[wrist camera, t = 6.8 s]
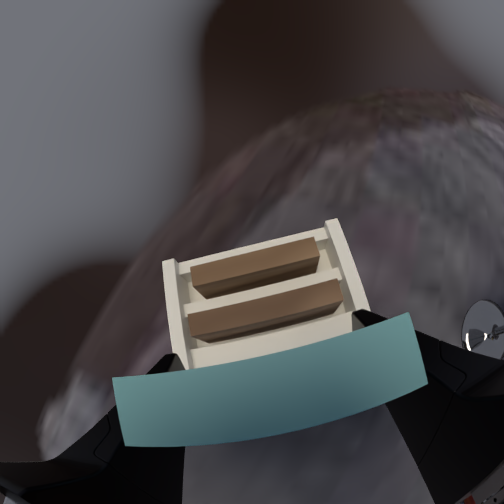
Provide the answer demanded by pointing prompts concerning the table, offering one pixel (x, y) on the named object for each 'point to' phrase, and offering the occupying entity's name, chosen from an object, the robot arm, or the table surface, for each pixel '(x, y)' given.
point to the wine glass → (484, 329)
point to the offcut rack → (191, 301)
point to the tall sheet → (272, 389)
